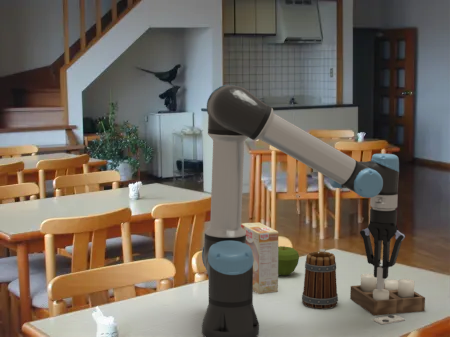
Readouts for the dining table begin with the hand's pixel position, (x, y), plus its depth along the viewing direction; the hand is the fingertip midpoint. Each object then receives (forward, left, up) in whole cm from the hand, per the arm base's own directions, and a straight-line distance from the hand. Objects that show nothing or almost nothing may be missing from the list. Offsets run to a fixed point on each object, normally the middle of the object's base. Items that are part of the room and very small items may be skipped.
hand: (380, 288), depth 213 cm
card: (-3, -8, -6) cm, 11 cm away
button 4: (+8, -1, -3) cm, 9 cm away
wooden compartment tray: (+5, +3, -6) cm, 9 cm away
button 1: (+2, +8, -3) cm, 9 cm away
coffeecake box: (-21, +35, -7) cm, 42 cm away
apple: (-7, +44, -7) cm, 45 cm away
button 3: (+9, +6, -6) cm, 13 cm away
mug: (-11, +14, -7) cm, 19 cm away
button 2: (0, 0, -6) cm, 6 cm away
